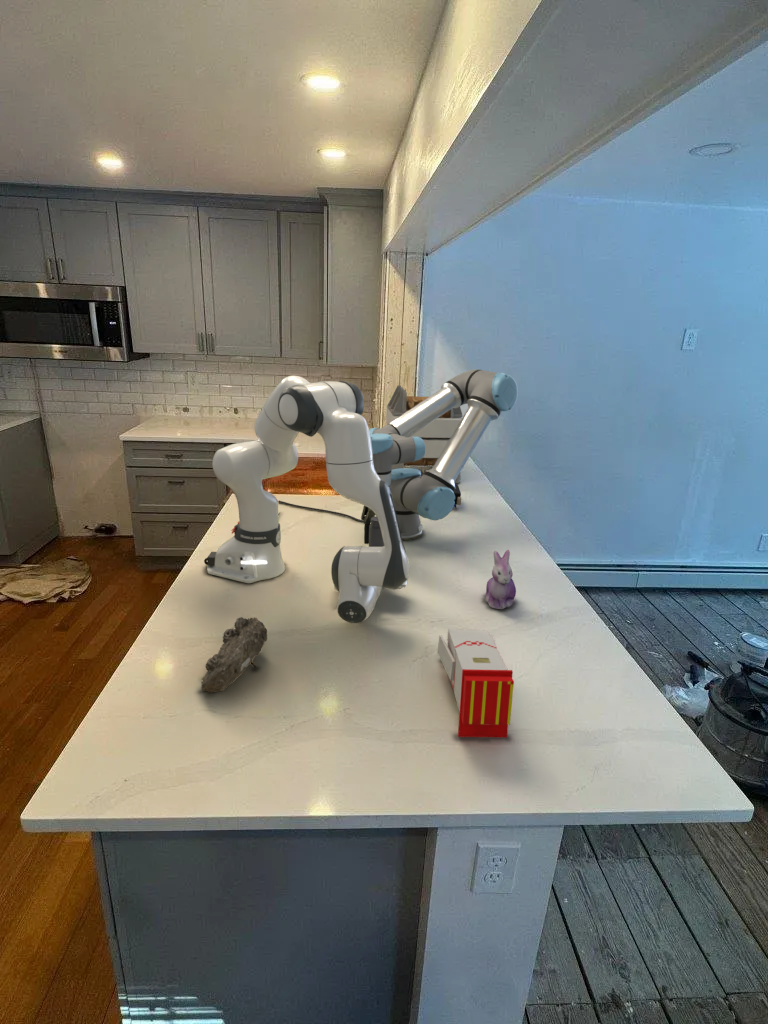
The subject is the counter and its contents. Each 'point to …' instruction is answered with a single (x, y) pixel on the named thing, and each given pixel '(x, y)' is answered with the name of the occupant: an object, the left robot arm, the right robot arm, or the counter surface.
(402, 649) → the counter surface
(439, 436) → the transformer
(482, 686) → the toy
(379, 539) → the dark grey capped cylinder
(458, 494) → the figurine character
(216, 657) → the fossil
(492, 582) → the figurine
